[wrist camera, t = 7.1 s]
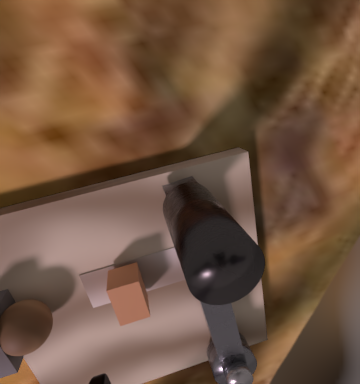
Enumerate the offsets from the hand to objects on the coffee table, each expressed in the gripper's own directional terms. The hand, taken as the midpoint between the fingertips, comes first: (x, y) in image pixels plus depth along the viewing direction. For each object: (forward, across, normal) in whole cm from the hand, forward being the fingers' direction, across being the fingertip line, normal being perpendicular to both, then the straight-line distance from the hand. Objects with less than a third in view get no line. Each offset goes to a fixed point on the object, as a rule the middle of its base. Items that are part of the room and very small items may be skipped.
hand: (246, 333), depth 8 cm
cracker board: (+12, +4, +6) cm, 14 cm away
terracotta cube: (+10, +5, +4) cm, 12 cm away
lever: (+10, -1, +6) cm, 12 cm away
